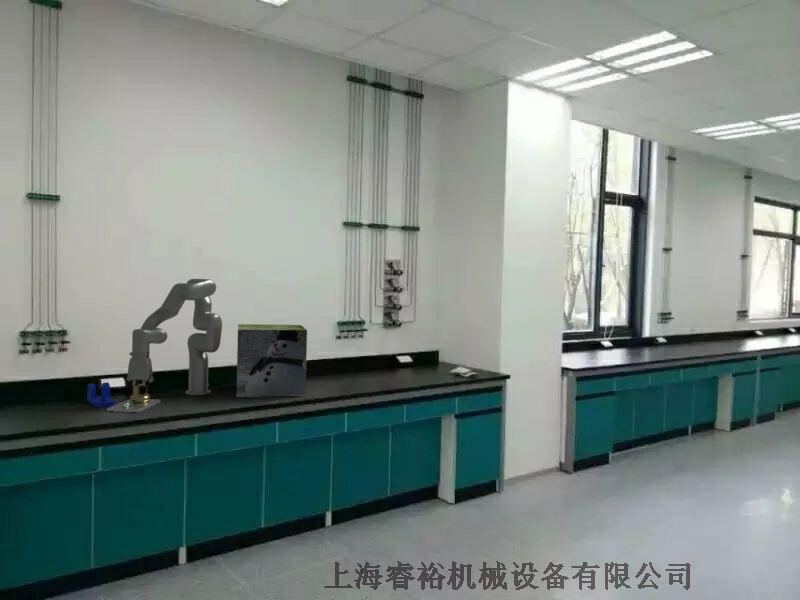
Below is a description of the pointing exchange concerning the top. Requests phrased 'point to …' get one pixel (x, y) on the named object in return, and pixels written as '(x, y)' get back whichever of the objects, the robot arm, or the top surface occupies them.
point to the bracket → (100, 400)
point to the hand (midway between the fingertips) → (140, 393)
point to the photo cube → (271, 360)
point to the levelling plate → (132, 406)
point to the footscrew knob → (139, 395)
